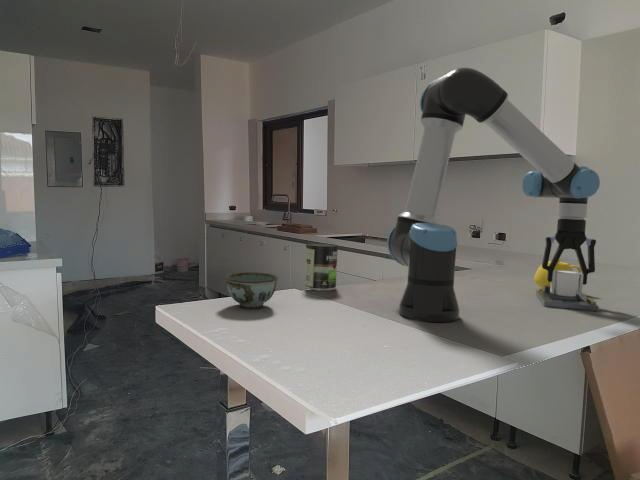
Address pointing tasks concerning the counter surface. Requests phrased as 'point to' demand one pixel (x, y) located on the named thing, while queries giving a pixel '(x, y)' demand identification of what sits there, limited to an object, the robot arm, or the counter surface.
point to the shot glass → (566, 282)
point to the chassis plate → (548, 301)
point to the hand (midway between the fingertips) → (565, 293)
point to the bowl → (251, 288)
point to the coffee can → (321, 266)
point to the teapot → (543, 273)
